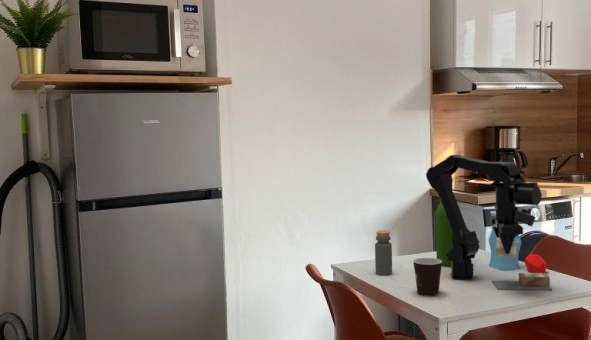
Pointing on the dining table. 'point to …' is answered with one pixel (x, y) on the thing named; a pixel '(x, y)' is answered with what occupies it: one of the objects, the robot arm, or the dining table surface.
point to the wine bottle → (443, 236)
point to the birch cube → (501, 251)
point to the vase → (503, 262)
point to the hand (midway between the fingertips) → (505, 251)
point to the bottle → (383, 253)
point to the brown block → (534, 279)
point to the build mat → (515, 286)
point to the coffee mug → (427, 275)
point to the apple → (535, 264)
